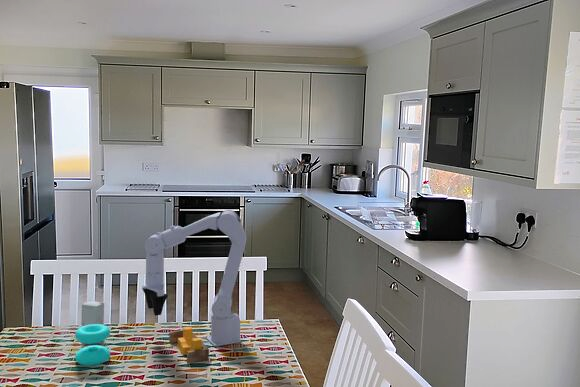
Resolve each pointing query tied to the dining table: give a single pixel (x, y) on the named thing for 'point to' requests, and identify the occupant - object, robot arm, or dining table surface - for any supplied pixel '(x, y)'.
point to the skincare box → (92, 313)
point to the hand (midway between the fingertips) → (154, 311)
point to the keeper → (194, 354)
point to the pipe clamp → (189, 341)
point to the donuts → (94, 352)
